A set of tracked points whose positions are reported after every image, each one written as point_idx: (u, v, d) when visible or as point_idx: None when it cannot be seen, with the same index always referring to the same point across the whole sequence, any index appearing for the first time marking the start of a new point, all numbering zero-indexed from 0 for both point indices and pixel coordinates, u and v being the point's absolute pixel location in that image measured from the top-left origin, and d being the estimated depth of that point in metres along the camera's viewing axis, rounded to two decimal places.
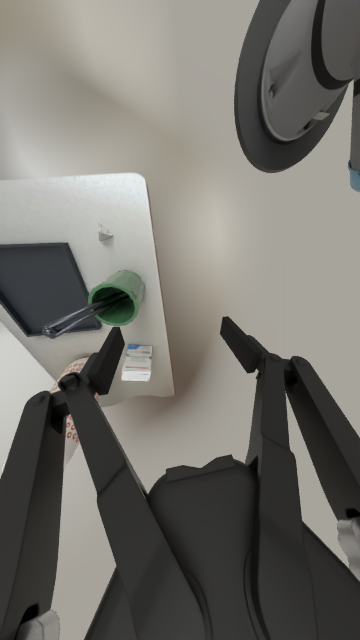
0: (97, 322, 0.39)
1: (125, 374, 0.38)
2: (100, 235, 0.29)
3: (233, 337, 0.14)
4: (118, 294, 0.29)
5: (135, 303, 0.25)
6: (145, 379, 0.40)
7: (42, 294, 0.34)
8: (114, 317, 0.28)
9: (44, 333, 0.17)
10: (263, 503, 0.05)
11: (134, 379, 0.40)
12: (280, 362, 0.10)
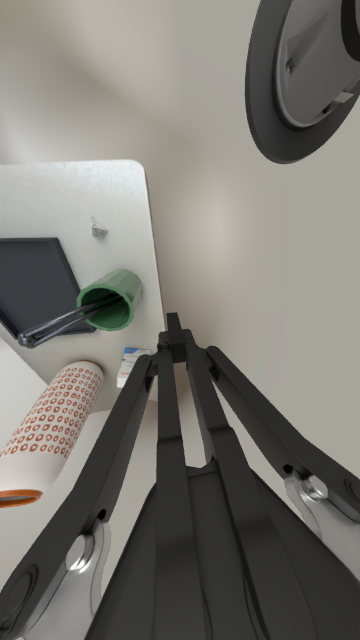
0: None
1: (120, 382, 0.35)
2: (93, 230, 0.26)
3: None
4: (112, 295, 0.26)
5: (130, 306, 0.22)
6: None
7: (30, 293, 0.31)
8: (108, 321, 0.26)
9: (20, 343, 0.15)
10: (263, 503, 0.05)
11: None
12: (197, 349, 0.12)
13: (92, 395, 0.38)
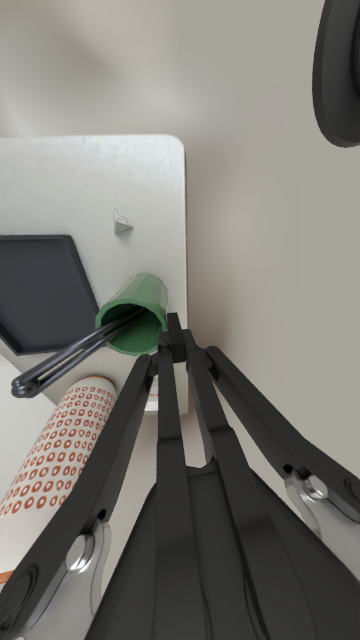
0: None
1: None
2: (117, 226, 0.21)
3: None
4: (137, 308, 0.20)
5: (164, 327, 0.17)
6: None
7: (35, 303, 0.26)
8: (130, 341, 0.20)
9: (14, 394, 0.10)
10: (263, 503, 0.05)
11: (152, 409, 0.32)
12: (197, 349, 0.12)
13: (106, 418, 0.33)
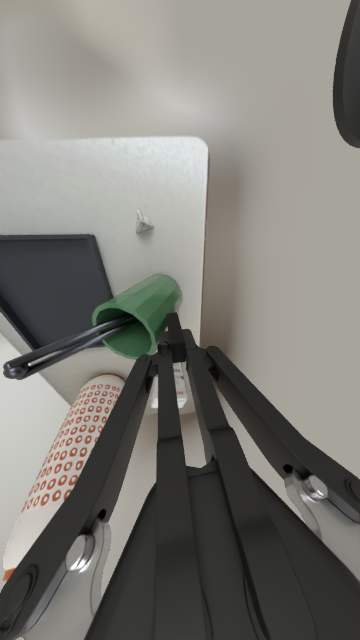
0: None
1: (157, 402, 0.30)
2: (140, 225, 0.21)
3: None
4: None
5: (152, 338, 0.15)
6: (179, 406, 0.33)
7: (56, 301, 0.26)
8: (129, 342, 0.20)
9: (4, 374, 0.12)
10: (263, 503, 0.05)
11: None
12: (197, 349, 0.12)
13: None
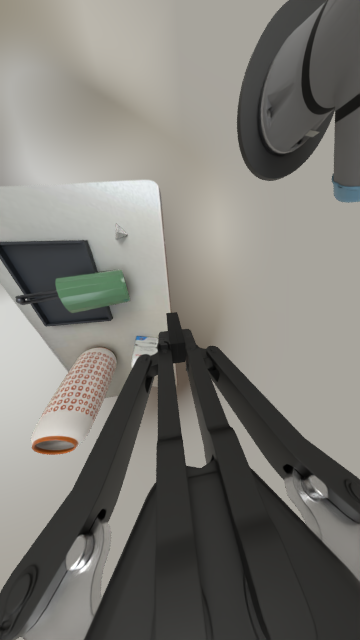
0: (109, 314, 0.43)
1: None
2: (117, 234, 0.32)
3: None
4: None
5: None
6: None
7: None
8: None
9: (16, 300, 0.31)
10: (263, 503, 0.05)
11: None
12: (197, 349, 0.12)
13: (110, 374, 0.44)
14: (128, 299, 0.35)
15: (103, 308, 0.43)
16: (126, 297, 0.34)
